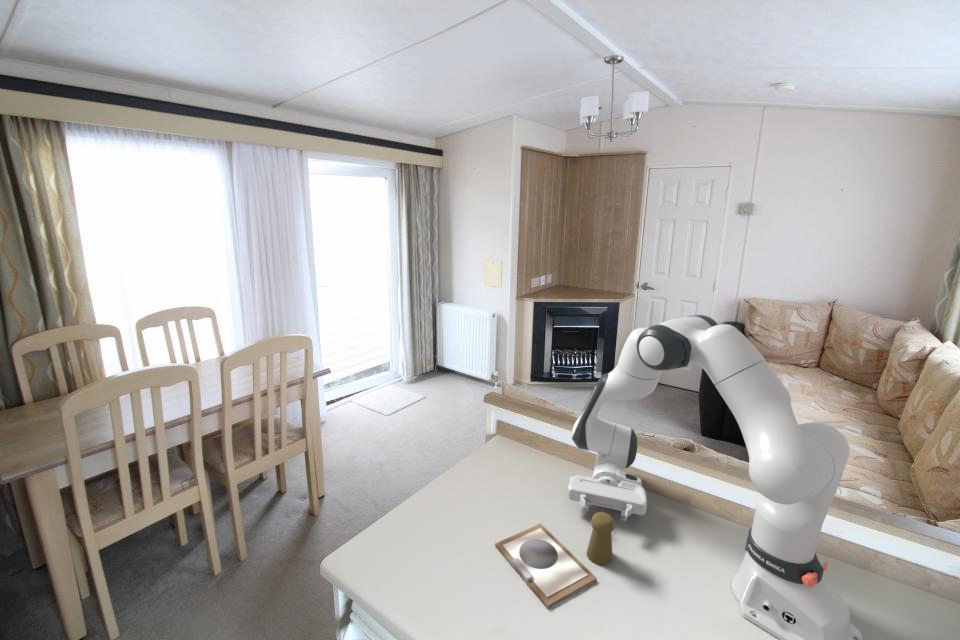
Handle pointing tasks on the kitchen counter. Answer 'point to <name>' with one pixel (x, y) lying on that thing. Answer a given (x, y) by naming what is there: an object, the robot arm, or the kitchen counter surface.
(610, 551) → the cork
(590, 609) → the kitchen counter surface
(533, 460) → the kitchen counter surface
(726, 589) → the kitchen counter surface
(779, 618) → the robot arm
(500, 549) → the clipboard
